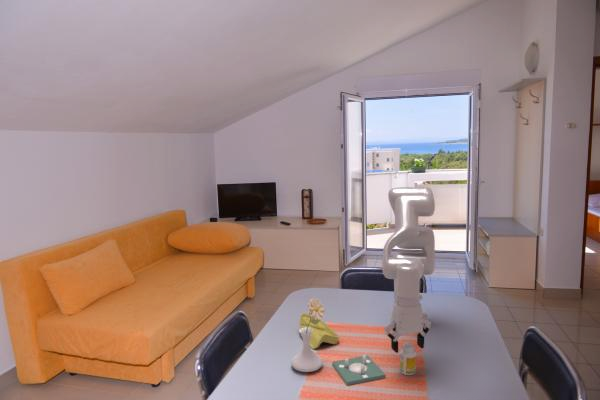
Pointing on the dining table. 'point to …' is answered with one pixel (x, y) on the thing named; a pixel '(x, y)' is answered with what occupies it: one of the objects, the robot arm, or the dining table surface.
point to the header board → (358, 370)
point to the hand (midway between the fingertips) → (407, 348)
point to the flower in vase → (307, 357)
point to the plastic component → (318, 332)
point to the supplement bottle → (407, 359)
